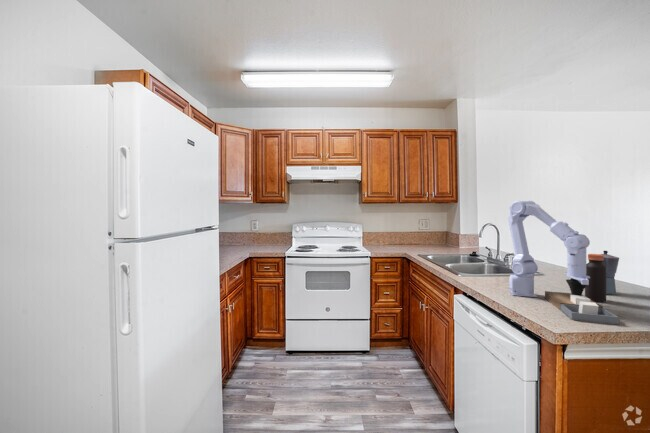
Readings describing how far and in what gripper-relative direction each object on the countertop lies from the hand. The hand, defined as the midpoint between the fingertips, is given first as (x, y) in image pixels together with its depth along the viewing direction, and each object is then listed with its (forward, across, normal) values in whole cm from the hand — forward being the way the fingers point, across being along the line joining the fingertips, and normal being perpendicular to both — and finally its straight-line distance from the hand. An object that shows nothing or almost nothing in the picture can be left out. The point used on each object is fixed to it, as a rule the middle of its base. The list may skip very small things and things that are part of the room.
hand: (576, 298), depth 113 cm
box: (+4, -10, 0) cm, 11 cm away
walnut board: (+4, +3, 0) cm, 5 cm away
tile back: (+1, -3, 0) cm, 3 cm away
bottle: (+4, +15, -12) cm, 19 cm away
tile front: (+1, -9, 0) cm, 9 cm away
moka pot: (+4, +30, -21) cm, 37 cm away
